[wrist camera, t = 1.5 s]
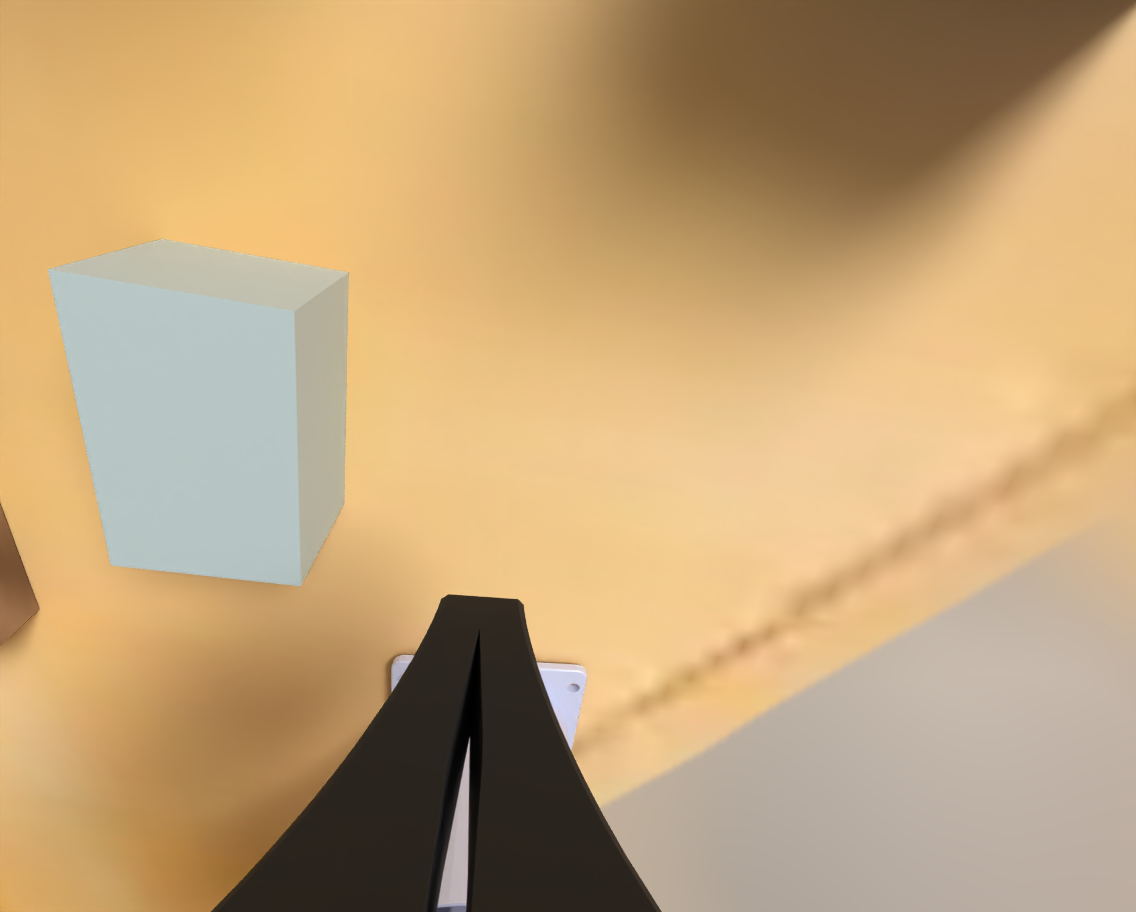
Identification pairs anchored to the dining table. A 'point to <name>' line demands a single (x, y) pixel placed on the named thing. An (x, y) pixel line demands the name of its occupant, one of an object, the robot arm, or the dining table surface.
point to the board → (13, 586)
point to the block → (209, 405)
